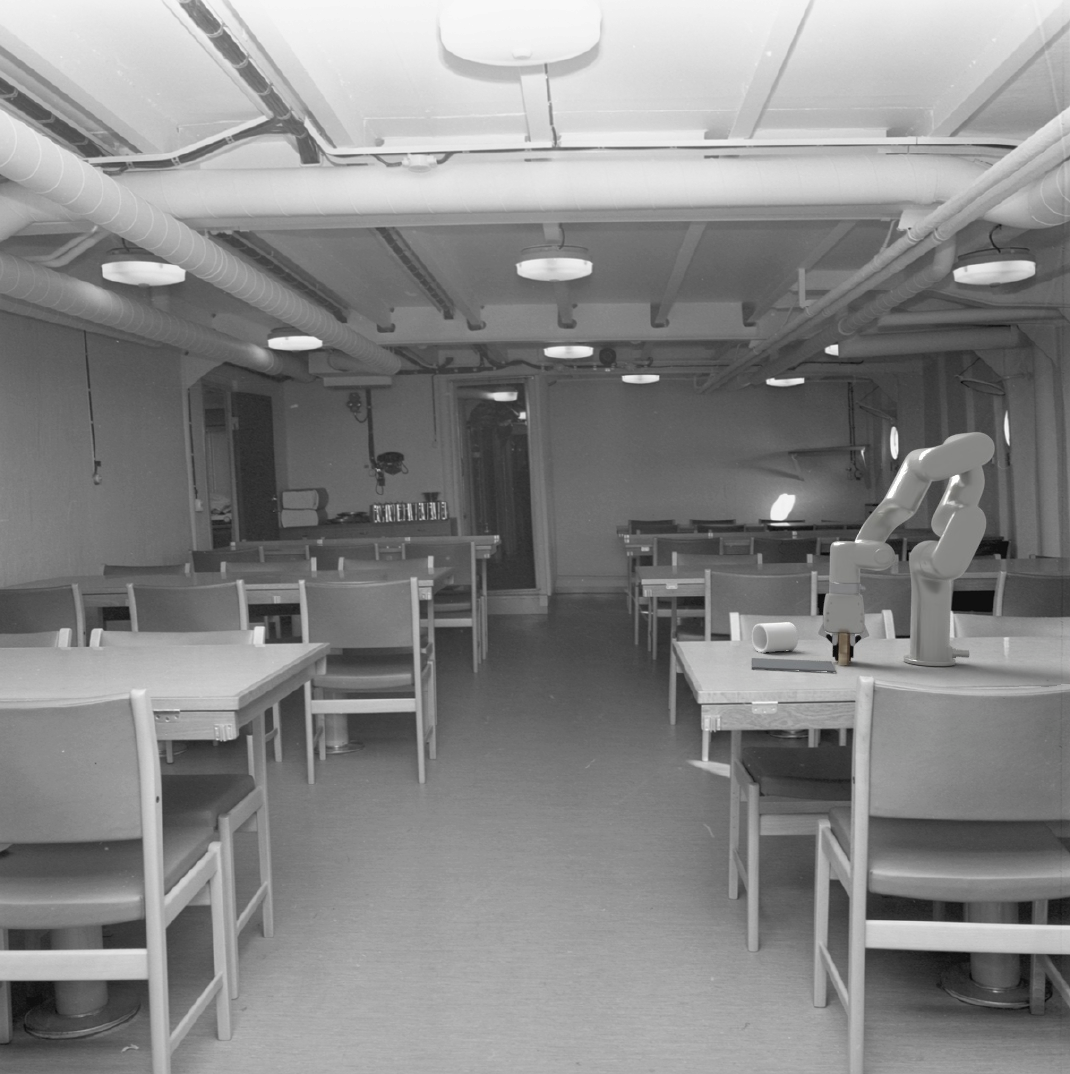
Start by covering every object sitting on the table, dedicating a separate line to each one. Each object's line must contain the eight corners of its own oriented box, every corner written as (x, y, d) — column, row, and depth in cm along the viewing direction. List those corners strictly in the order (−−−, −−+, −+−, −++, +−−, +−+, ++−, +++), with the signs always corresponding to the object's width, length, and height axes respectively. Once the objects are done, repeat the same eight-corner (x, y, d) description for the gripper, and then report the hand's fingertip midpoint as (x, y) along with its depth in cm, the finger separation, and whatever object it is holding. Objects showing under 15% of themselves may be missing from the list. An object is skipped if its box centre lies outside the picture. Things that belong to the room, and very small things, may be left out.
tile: (846, 660, 261) (846, 629, 260) (849, 665, 252) (849, 634, 252) (836, 659, 261) (837, 629, 261) (839, 665, 252) (840, 634, 252)
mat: (831, 663, 255) (831, 661, 255) (835, 673, 242) (836, 670, 242) (751, 660, 260) (751, 657, 259) (751, 669, 246) (751, 666, 246)
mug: (798, 652, 272) (798, 624, 272) (768, 655, 269) (768, 625, 268) (771, 646, 284) (772, 618, 283) (742, 648, 280) (742, 620, 279)
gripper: (875, 588, 258) (873, 659, 259) (811, 587, 261) (809, 656, 262) (879, 591, 250) (877, 664, 251) (812, 589, 254) (811, 661, 255)
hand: (842, 659), depth 257 cm, fingers closed on tile, 2 cm apart
